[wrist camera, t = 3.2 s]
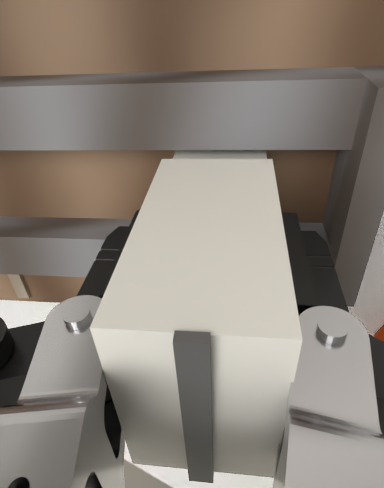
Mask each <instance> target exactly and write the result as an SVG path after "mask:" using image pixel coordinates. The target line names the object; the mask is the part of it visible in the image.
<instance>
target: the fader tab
mask: <svg viewBox="0 0 384 488" xmlns="http://www.w3.org/2000/svg"><path fill="white" fill-rule="evenodd" d="M90 331H91V334H92V337H93V340H94V343H95V346H96V349H97V353H98V356H99V359H100V362H101V365H102V368H103V371H104V375H105V378H106V381H107V384H108V387H109V390H110V393H111V396H112V400H113V403H114V406H115V409H116V412H117V415H118V418H119V422H120V425H121V428H122V431H123V434H124V437H125V440H126V443H127V447H128V450H129V453H130V456H131V459H132V462H133V464H143V465H153V466H163V467H173V468H184V469H188V475H189V481H198V482H208V483H213V477H214V472H224V473H234V474H244V475H254V476H264V477H274V473H275V463H276V454H277V449H278V444H281V442H282V437H283V432H284V427H285V421H286V410H287V399H288V394H289V389H290V384H291V382H294V379H295V374H296V369H297V365H298V360H299V355H300V350H301V345H302V341H303V339H302V333H301V327H300V321H299V315H298V309H297V303H296V297H295V291H294V285H293V279H292V273H291V267H290V261H289V255H288V249H287V243H286V237H285V231H284V225H283V219H282V213H281V207H280V201H279V195H278V189H277V183H276V177H275V171H274V165H273V159H267V155H266V150H176V151H175V154H174V157H173V159H162V160H161V162H160V164H159V167H158V169H157V171H156V174H155V176H154V178H153V181H152V183H151V185H150V188H149V190H148V192H147V195H146V197H145V199H144V202H143V204H142V206H141V209H140V211H139V214H138V216H137V218H136V221H135V223H134V225H133V228H132V230H131V232H130V235H129V237H128V239H127V242H126V244H125V246H124V249H123V251H122V253H121V256H120V258H119V260H118V263H117V265H116V267H115V270H114V272H113V274H112V277H111V279H110V281H109V284H108V286H107V288H106V291H105V293H104V295H103V298H102V300H101V302H100V305H99V307H98V309H97V312H96V314H95V316H94V319H93V321H92V323H91V326H90Z"/></svg>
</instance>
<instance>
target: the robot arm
mask: <svg viewBox="0 0 384 488" xmlns="http://www.w3.org/2000/svg"><path fill="white" fill-rule="evenodd" d="M139 211H140V210H137V211H136V212H135V214H134V217H133V219H132V221H131V223H130V226H119V227H118V228H116V229H115V230H114V231H113V232H112V233H110V234H109V235H108V236H107V237H106V239H105V241H104V243H103V245H102V247H101V251H99V253H98V255H97V257H96V261H94V263H93V265H92V267H91V268H90V270H89V272H88V274H87V276H86V278H85V280H84V282H83V284H82V286H81V288H80V290H79V292H78V294H77V296H76V297H72V298H69V299H67V300H65V301H63V302H61V303H60V304H58V305H57V306H56V307H54V308H53V309H52V310H51V312H50V313H49V314H48V316H47V318H46V320H45V321H44V322H40V323H35V324H31V325H26V326H21V327H16V328H11V329H8V328H7V326H6V324H5V322H4V321H3V319H2V318H0V488H125V484H124V472H123V462H124V448H125V437H124V434H123V431H122V428H121V425H120V422H119V418H118V415H117V412H116V409H115V406H114V403H113V400H112V396H111V393H110V390H109V387H108V384H107V381H106V378H105V375H104V371H103V368H102V365H101V362H100V359H99V356H98V353H97V349H96V346H95V343H94V340H93V337H92V334H91V331H90V326H91V323H92V321H93V319H94V316H95V314H96V312H97V309H98V307H99V305H100V302H101V300H102V298H103V295H104V293H105V291H106V288H107V286H108V284H109V281H110V279H111V277H112V274H113V272H114V270H115V267H116V265H117V263H118V260H119V258H120V256H121V253H122V251H123V249H124V246H125V244H126V242H127V239H128V237H129V235H130V232H131V230H132V228H133V225H134V223H135V221H136V218H137V216H138V214H139ZM281 213H282V219H283V225H284V231H285V237H286V243H287V249H288V255H289V261H290V267H291V273H292V279H293V285H294V291H295V297H296V303H297V309H298V315H299V321H300V327H301V333H302V339H303V341H302V345H301V350H300V355H299V360H298V365H297V369H296V374H295V379H294V382H291V384H290V389H289V394H288V399H287V410H286V421H285V427H284V432H283V437H282V442H281V444H278V449H277V454H276V463H275V473H274V481H273V488H384V341H381V340H379V339H377V338H375V337H373V336H371V335H370V334H368V332H367V329H366V328H365V326H364V325H363V324H362V322H361V321H360V320H359V319H357V318H356V317H355V316H354V315H352V314H350V313H349V311H348V307H347V304H346V301H345V298H344V295H343V292H342V288H341V285H340V282H339V279H338V276H337V273H336V270H335V269H334V267H335V266H334V263H333V260H332V258H331V254H330V251H329V247H328V244H327V242H326V241H325V240H324V239H323V238H322V237H321V236H320V235H319V234H318V233H317V232H316V231H301V229H300V225H299V221H298V216H297V213H287V212H281Z"/></svg>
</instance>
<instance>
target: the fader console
mask: <svg viewBox="0 0 384 488" xmlns="http://www.w3.org/2000/svg"><path fill="white" fill-rule="evenodd" d="M176 150H266V155H267V159H273V165H274V171H275V177H276V183H277V189H278V195H279V201H280V207H281V212H287V213H297V216H298V221H299V225H300V229H301V231H316V232H317V233H318V234H319V235H320V236H321V237H322V238H323V239H324V240H325V241H326V242H327V244H328V247H329V251H330V254H331V258H332V260H333V263H334V266H335V267H334V269H335V270H336V273H337V276H338V279H339V282H340V285H341V288H342V292H343V295H344V298H345V301H346V304H347V306H353V307H354V304H355V301H356V298H357V295H358V291H359V288H360V285H361V282H362V278H363V275H364V272H365V269H366V266H367V262H368V259H369V256H370V253H371V249H372V246H373V243H374V240H375V237H376V233H377V230H378V227H379V224H380V220H381V217H382V214H383V211H384V0H0V300H19V301H39V302H60V303H61V302H63V301H65V300H67V299H69V298H72V297H76V296H77V294H78V292H79V290H80V288H81V286H82V284H83V282H84V280H85V278H86V276H87V274H88V272H89V270H90V268H91V267H92V265H93V263H94V261H96V257H97V255H98V253H99V251H101V247H102V245H103V243H104V241H105V239H106V237H107V236H108V235H109V234H110V233H112V232H113V231H114V230H115V229H116V228H118V227H119V226H130V223H131V221H132V219H133V217H134V214H135V212H136V211H137V210H140V209H141V206H142V204H143V202H144V199H145V197H146V195H147V192H148V190H149V188H150V185H151V183H152V181H153V178H154V176H155V174H156V171H157V169H158V167H159V164H160V162H161V160H162V159H173V157H174V154H175V151H176Z"/></svg>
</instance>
